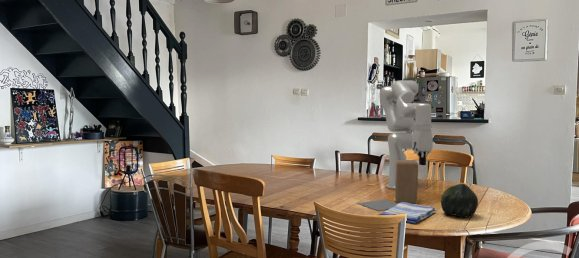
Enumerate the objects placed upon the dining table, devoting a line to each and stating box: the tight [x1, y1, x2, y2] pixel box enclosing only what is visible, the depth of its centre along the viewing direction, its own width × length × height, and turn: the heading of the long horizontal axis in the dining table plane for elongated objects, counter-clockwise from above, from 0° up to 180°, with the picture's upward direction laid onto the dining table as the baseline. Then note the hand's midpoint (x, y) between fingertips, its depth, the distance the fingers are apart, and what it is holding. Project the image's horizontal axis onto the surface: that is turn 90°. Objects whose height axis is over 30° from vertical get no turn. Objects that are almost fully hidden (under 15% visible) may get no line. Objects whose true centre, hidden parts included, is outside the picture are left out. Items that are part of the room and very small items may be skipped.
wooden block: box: [394, 159, 419, 205], centre depth 211 cm, size 10×10×20 cm
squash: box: [440, 183, 479, 218], centre depth 186 cm, size 14×15×15 cm
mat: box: [356, 199, 399, 212], centre depth 205 cm, size 17×16×1 cm
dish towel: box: [378, 202, 437, 225], centre depth 186 cm, size 17×24×3 cm
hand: (422, 164), depth 216 cm, fingers closed
